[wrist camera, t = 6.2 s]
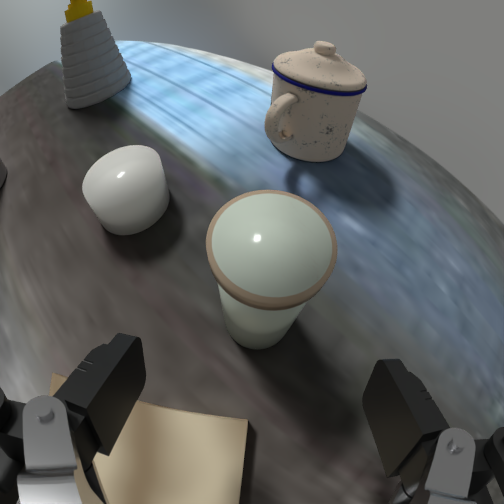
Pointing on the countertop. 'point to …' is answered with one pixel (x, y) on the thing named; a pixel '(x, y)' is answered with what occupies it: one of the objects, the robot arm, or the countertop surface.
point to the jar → (268, 262)
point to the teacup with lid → (313, 102)
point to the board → (172, 457)
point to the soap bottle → (89, 57)
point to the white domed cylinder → (127, 189)
